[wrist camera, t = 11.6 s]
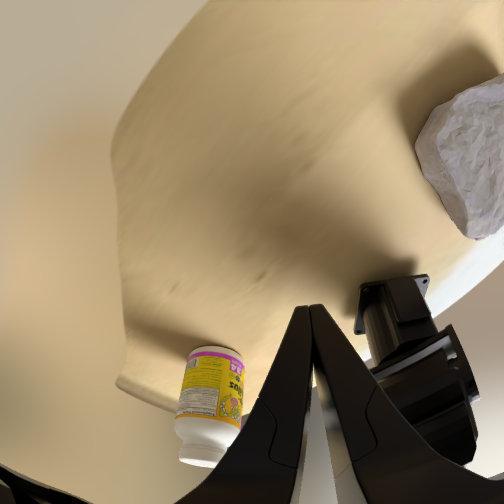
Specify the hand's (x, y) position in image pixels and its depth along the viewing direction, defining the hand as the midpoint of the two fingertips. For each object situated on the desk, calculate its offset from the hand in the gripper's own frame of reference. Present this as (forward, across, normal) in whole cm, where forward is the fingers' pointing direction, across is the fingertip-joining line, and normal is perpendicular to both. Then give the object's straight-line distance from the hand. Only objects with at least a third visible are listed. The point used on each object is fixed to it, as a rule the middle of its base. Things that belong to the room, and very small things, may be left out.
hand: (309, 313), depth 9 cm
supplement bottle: (+11, +10, +20) cm, 25 cm away
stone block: (+10, -12, -6) cm, 17 cm away
